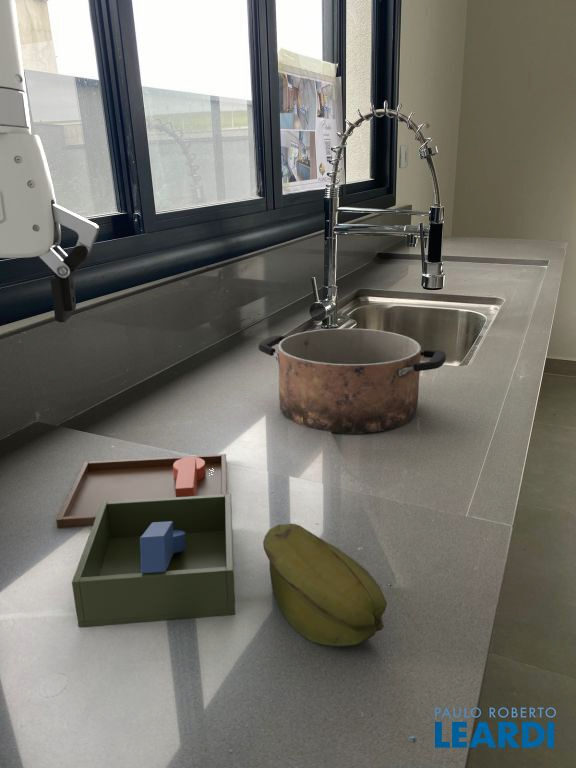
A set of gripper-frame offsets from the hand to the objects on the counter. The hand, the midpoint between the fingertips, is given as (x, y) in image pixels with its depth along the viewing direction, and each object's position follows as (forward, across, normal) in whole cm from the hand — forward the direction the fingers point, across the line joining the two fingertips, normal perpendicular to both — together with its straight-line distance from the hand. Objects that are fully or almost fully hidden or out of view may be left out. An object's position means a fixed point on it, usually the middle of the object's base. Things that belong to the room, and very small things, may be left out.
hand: (9, 320), depth 55 cm
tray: (+24, +10, +9) cm, 27 cm away
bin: (+23, +13, -7) cm, 28 cm away
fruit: (+23, +27, -14) cm, 38 cm away
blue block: (+21, +13, -8) cm, 26 cm away
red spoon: (+23, +15, +9) cm, 29 cm away
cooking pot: (+23, +39, +35) cm, 57 cm away
